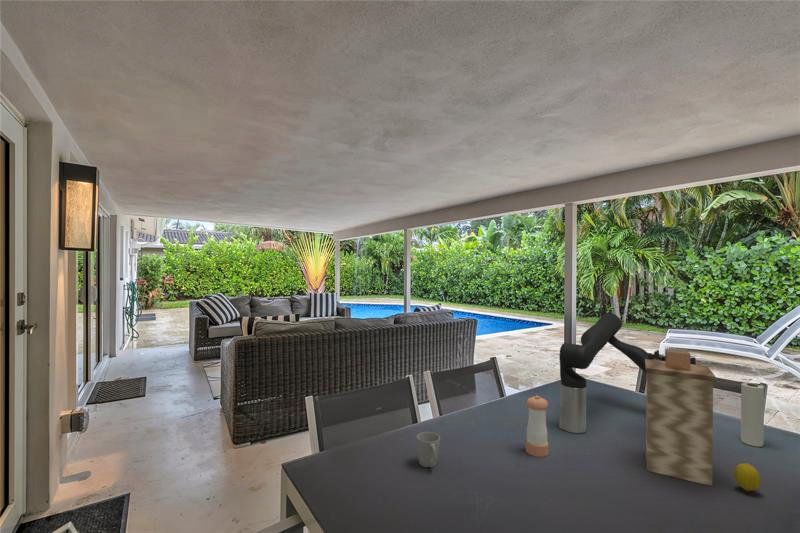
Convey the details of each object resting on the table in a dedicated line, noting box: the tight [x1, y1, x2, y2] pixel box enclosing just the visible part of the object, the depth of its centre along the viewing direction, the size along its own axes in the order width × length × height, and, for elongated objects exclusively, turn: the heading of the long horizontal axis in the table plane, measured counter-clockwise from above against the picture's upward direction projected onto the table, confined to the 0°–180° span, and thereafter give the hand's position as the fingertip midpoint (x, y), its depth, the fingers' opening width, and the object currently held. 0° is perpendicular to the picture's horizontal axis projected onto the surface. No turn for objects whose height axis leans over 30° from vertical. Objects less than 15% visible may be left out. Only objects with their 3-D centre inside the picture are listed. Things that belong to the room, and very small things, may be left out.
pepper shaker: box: [525, 395, 549, 458], centre depth 132 cm, size 7×7×19 cm
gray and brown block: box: [664, 348, 691, 370], centre depth 129 cm, size 6×22×5 cm, turn 149°
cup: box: [415, 431, 441, 468], centre depth 122 cm, size 8×10×8 cm
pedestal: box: [645, 359, 717, 487], centre depth 122 cm, size 17×15×32 cm
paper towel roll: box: [740, 382, 765, 448], centre depth 140 cm, size 7×6×21 cm
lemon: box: [733, 462, 761, 493], centre depth 110 cm, size 6×6×8 cm
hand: (672, 354), depth 137 cm, fingers open, 8 cm apart
